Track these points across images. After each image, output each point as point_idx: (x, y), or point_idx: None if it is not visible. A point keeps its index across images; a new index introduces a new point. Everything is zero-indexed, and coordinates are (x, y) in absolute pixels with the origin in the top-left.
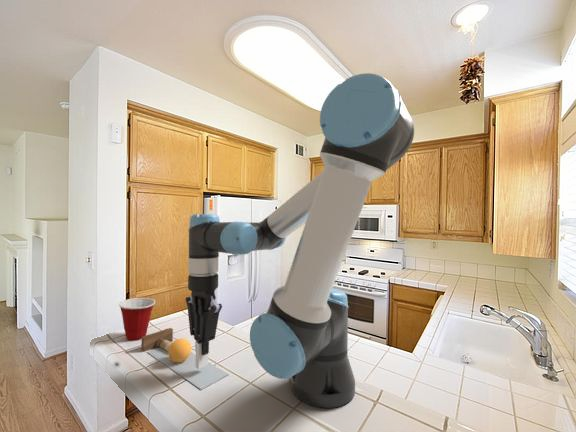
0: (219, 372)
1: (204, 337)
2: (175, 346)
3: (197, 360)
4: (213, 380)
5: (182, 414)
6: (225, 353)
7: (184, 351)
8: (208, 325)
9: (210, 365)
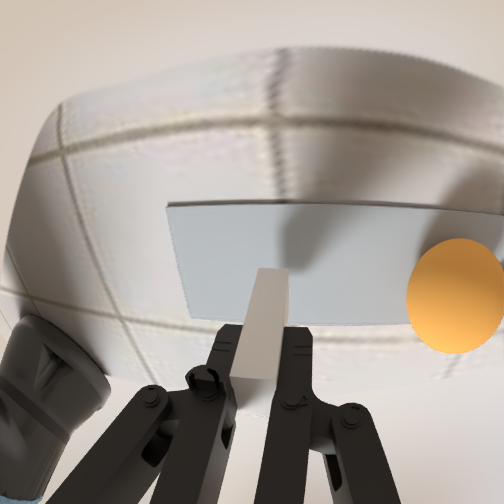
0: (221, 308)
1: (154, 412)
2: (470, 289)
3: (266, 291)
4: (188, 267)
5: (95, 102)
6: (324, 379)
7: (417, 300)
8: (77, 479)
9: (294, 318)
